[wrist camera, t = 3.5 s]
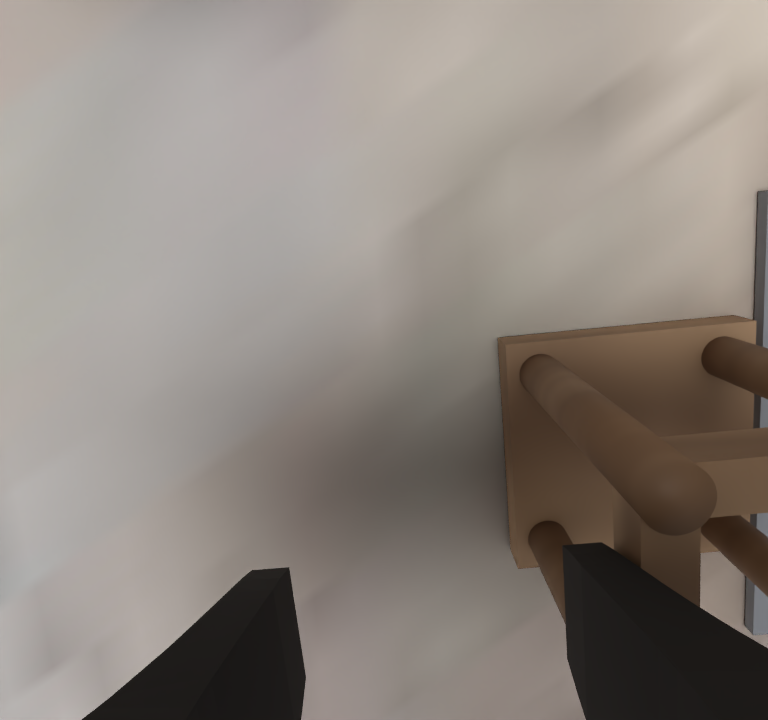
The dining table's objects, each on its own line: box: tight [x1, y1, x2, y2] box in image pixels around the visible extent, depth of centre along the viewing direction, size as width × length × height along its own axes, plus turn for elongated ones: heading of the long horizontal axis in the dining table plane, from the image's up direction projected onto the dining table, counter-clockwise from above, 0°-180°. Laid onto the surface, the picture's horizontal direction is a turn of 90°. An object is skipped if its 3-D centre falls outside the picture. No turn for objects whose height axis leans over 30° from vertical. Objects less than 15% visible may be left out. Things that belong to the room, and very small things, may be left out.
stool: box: [498, 315, 768, 624], centre depth 12 cm, size 6×6×8 cm
